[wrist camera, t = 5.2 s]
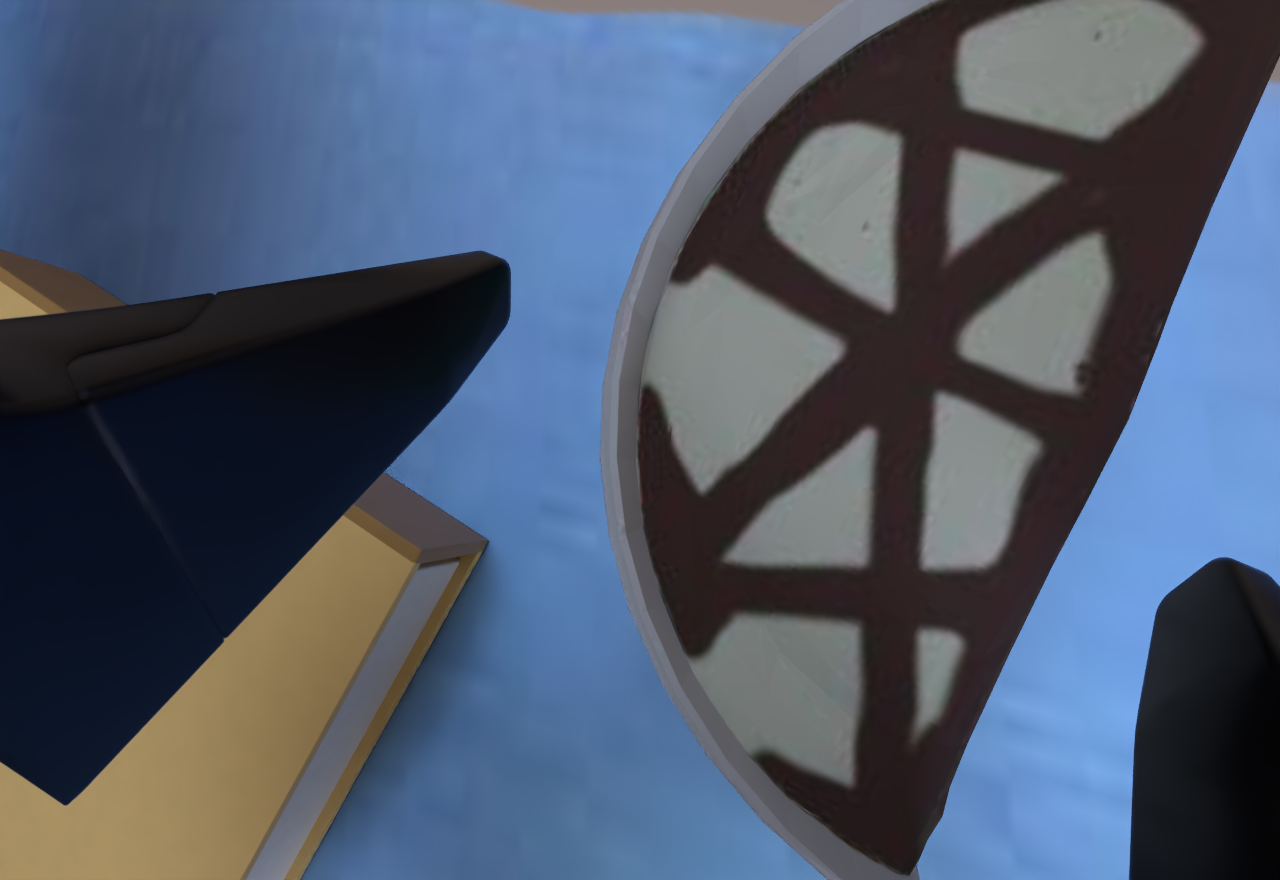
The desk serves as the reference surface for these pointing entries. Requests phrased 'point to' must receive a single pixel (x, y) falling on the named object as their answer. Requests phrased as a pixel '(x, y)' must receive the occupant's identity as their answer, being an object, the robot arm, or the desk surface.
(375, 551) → the book
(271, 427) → the robot arm
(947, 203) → the food container
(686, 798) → the desk surface
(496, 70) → the desk surface
